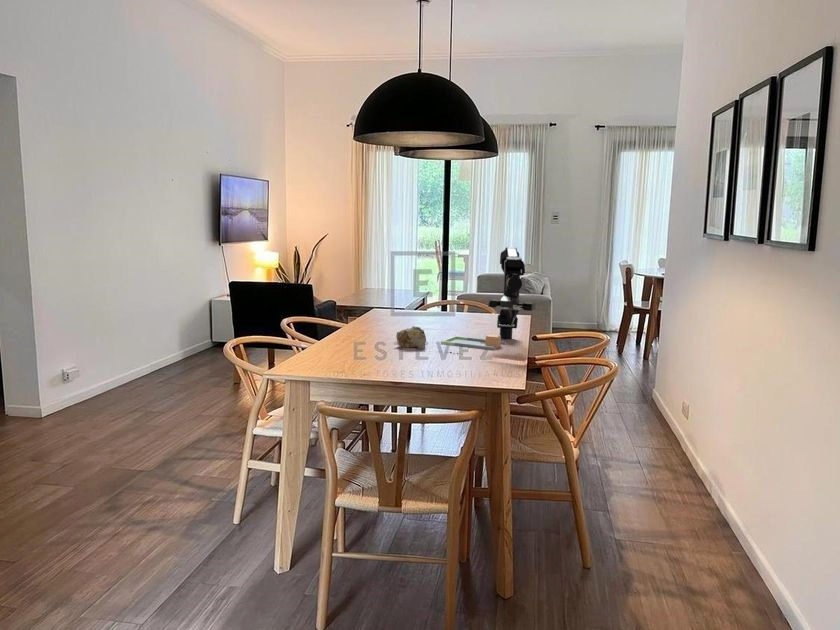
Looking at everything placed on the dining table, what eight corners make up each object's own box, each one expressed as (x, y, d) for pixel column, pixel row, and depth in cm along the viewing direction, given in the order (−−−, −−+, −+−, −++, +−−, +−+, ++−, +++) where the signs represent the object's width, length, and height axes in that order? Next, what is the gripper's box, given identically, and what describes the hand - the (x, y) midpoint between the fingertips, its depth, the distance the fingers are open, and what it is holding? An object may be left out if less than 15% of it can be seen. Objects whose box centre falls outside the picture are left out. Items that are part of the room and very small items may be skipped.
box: (454, 341, 283) (454, 335, 282) (505, 347, 272) (505, 341, 272) (440, 347, 270) (440, 341, 269) (493, 353, 259) (493, 347, 259)
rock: (430, 343, 270) (423, 322, 269) (426, 348, 264) (419, 326, 263) (405, 349, 275) (397, 328, 273) (400, 354, 268) (393, 333, 267)
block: (489, 344, 270) (489, 334, 269) (500, 345, 268) (500, 335, 267) (485, 346, 266) (485, 336, 265) (496, 347, 263) (496, 337, 263)
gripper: (484, 288, 257) (483, 325, 259) (528, 291, 248) (526, 330, 251) (493, 286, 266) (492, 322, 269) (536, 289, 258) (534, 326, 261)
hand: (510, 325), depth 262 cm, fingers closed
